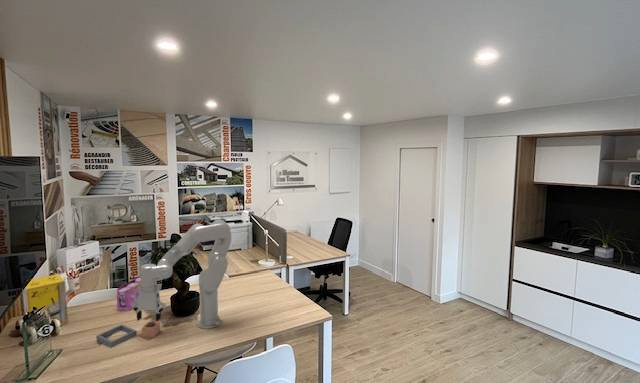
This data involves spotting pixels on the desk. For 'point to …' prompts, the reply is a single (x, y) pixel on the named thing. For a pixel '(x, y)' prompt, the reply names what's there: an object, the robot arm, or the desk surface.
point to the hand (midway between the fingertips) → (148, 319)
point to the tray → (105, 335)
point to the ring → (151, 330)
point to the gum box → (128, 294)
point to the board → (151, 337)
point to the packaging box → (47, 297)
